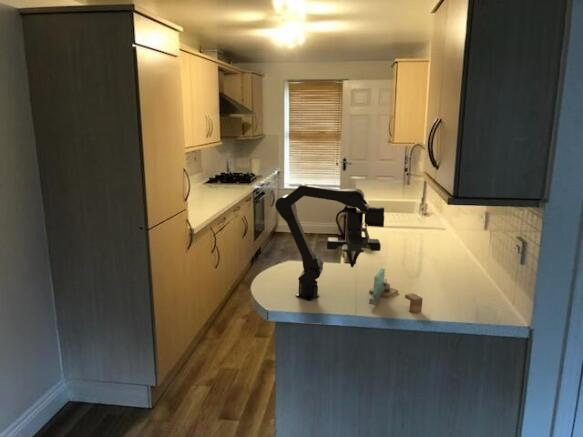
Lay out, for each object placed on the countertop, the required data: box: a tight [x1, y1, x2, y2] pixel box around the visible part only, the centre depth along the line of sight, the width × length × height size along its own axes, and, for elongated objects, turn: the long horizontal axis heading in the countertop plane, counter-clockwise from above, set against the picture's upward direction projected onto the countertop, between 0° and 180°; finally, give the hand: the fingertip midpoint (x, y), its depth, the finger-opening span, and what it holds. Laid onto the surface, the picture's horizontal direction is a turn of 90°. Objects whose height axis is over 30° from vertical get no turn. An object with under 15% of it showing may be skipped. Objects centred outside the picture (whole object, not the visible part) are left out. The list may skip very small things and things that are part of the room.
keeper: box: [404, 292, 424, 315], centre depth 159 cm, size 5×4×5 cm
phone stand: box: [362, 222, 371, 249], centre depth 236 cm, size 9×6×12 cm, turn 77°
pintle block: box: [368, 287, 399, 300], centre depth 174 cm, size 8×8×1 cm
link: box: [368, 268, 391, 306], centre depth 167 cm, size 19×4×10 cm, turn 155°
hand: (352, 266), depth 163 cm, fingers closed
